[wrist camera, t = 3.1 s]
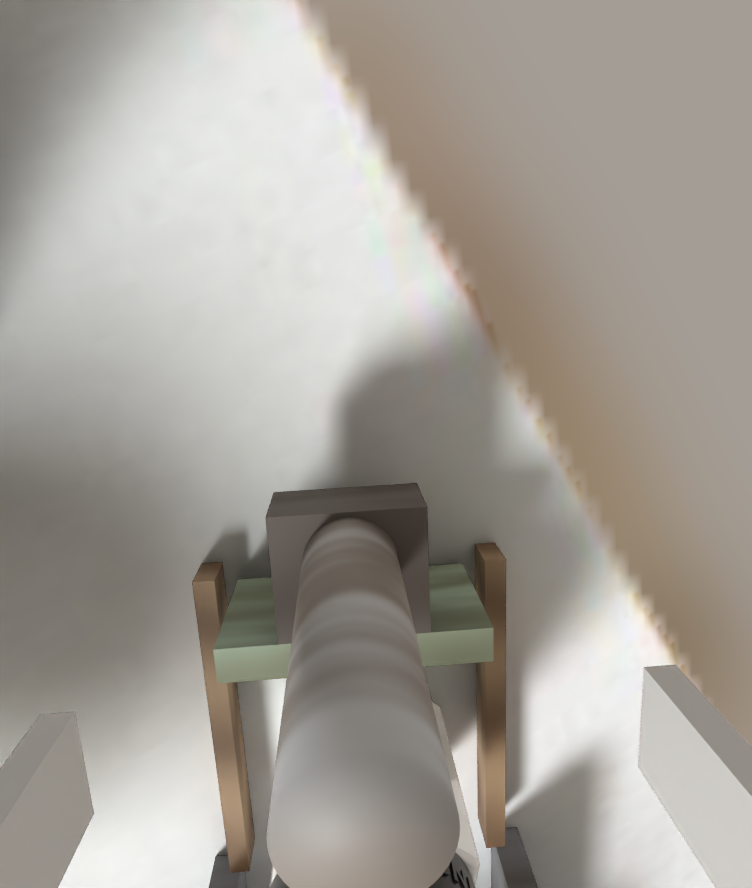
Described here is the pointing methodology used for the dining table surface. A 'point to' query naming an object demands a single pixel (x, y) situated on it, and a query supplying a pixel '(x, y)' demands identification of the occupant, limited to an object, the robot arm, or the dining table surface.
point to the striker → (355, 684)
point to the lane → (508, 855)
